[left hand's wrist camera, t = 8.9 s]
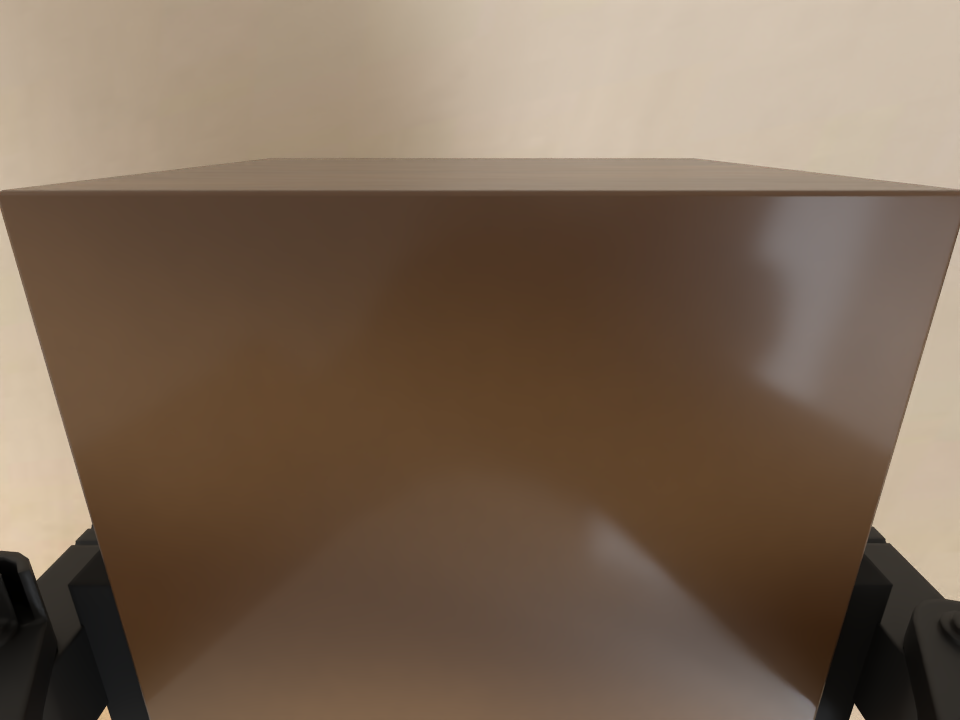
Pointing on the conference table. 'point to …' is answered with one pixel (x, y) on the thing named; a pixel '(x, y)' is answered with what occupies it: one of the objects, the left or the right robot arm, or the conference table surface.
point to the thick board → (482, 425)
